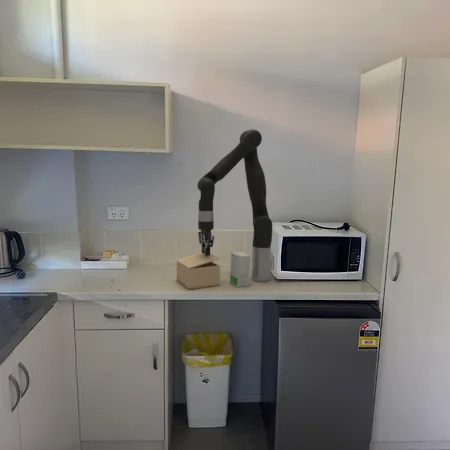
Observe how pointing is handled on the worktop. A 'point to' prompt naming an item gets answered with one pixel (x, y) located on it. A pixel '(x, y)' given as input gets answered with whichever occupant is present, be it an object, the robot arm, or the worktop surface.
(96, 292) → the worktop surface
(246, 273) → the skincare box
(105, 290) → the worktop surface
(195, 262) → the lid flap
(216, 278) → the carton
